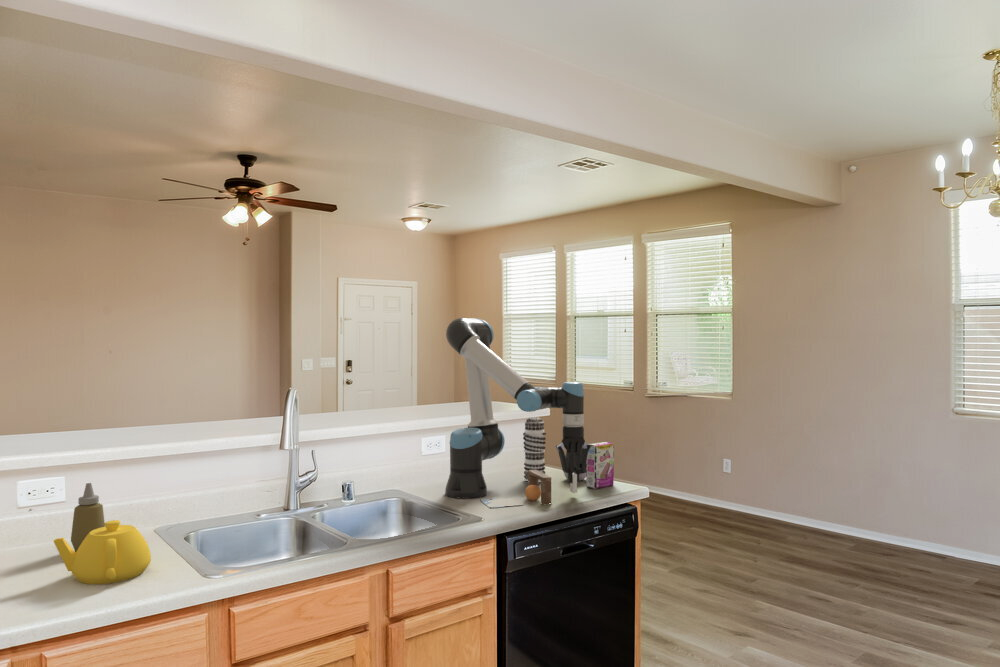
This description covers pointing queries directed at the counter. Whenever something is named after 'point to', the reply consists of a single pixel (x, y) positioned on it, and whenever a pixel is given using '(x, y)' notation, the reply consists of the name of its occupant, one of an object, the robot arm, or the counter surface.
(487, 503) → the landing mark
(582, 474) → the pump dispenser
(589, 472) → the candy bar box
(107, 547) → the teapot
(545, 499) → the bridge
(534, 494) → the ball
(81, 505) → the squeeze bottle
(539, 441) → the decorative candle
